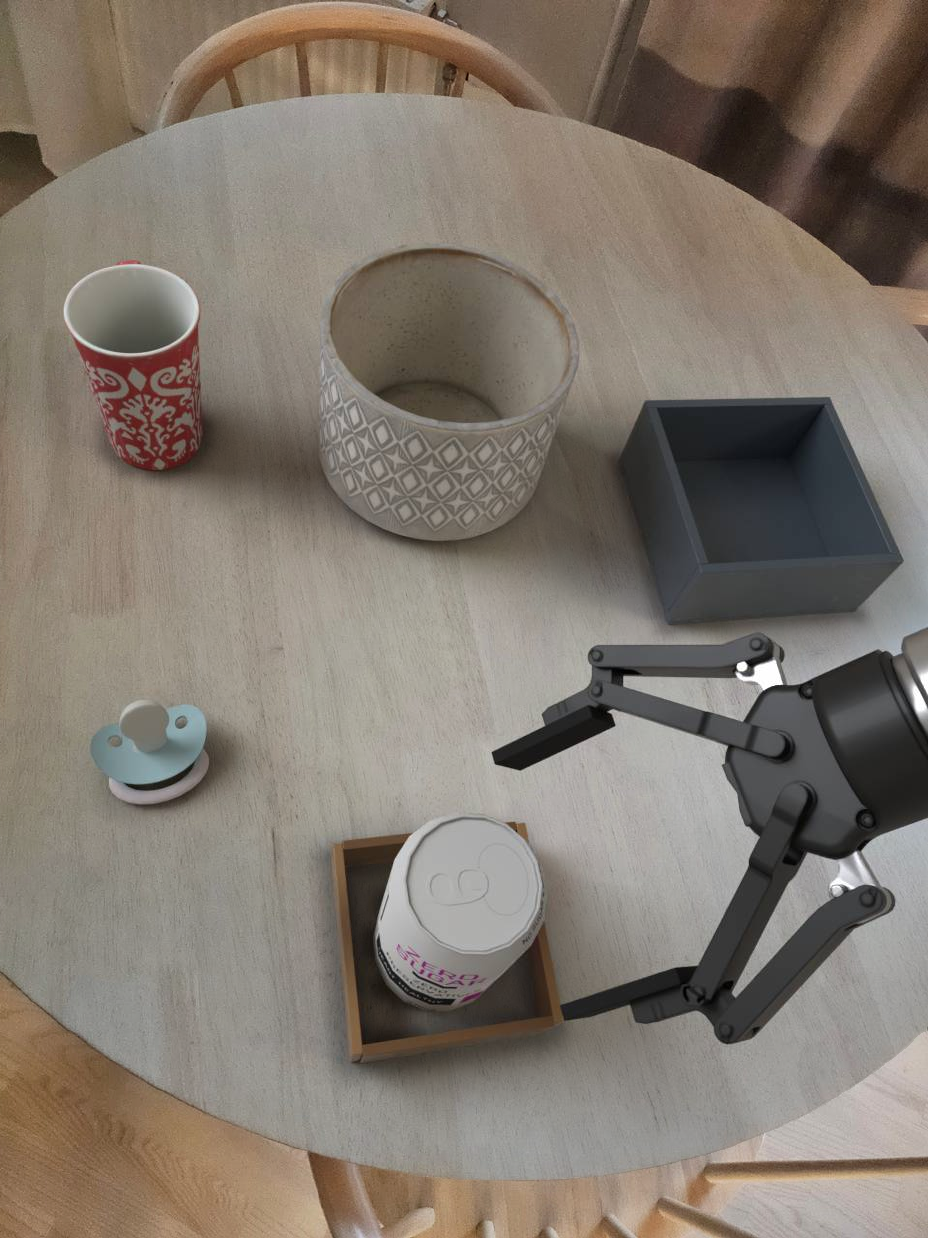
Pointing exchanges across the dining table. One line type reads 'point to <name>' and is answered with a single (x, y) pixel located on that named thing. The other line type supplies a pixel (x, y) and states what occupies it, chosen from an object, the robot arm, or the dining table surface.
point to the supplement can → (457, 910)
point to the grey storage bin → (754, 509)
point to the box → (546, 1019)
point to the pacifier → (152, 751)
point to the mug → (141, 360)
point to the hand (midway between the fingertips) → (537, 879)
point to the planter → (440, 388)
